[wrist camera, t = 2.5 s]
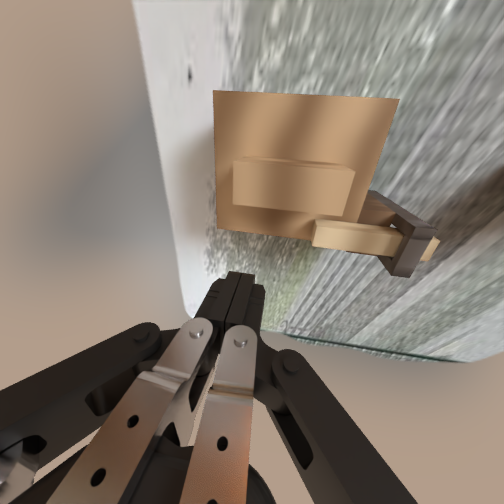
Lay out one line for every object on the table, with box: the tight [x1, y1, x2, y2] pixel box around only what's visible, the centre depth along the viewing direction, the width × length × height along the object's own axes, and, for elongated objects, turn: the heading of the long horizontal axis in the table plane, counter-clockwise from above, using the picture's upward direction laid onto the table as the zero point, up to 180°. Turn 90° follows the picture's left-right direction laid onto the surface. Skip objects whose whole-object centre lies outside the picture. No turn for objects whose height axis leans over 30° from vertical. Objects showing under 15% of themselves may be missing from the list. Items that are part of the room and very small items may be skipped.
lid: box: [213, 90, 400, 240], centre depth 17 cm, size 14×12×8 cm
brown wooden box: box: [346, 190, 437, 278], centre depth 21 cm, size 18×13×13 cm
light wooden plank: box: [310, 219, 440, 261], centre depth 18 cm, size 10×2×2 cm, turn 86°
